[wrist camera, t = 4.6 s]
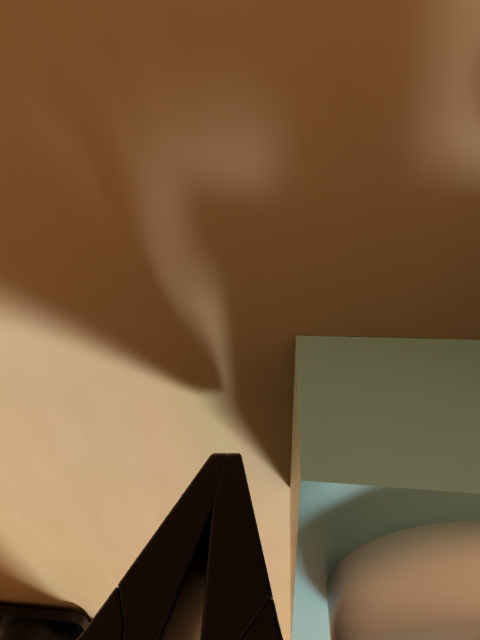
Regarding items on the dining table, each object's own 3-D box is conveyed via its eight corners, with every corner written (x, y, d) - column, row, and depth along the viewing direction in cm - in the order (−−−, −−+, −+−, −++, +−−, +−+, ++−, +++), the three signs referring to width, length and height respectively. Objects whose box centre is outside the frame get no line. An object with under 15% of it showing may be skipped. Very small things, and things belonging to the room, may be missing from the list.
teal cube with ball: (290, 488, 12) (291, 719, 7) (295, 335, 9) (303, 569, 4) (486, 503, 11) (620, 770, 7) (565, 341, 8) (915, 633, 4)
